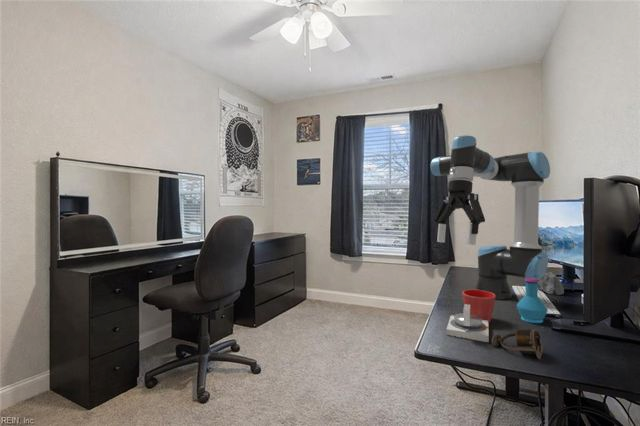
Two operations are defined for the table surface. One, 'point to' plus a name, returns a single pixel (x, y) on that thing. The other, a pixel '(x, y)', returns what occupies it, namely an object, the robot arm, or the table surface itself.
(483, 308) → the flower pot
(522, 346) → the brown piece
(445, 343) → the table surface
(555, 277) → the mineral rock
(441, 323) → the table surface
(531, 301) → the perfume bottle
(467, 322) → the dial
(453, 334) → the dial housing
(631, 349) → the table surface
